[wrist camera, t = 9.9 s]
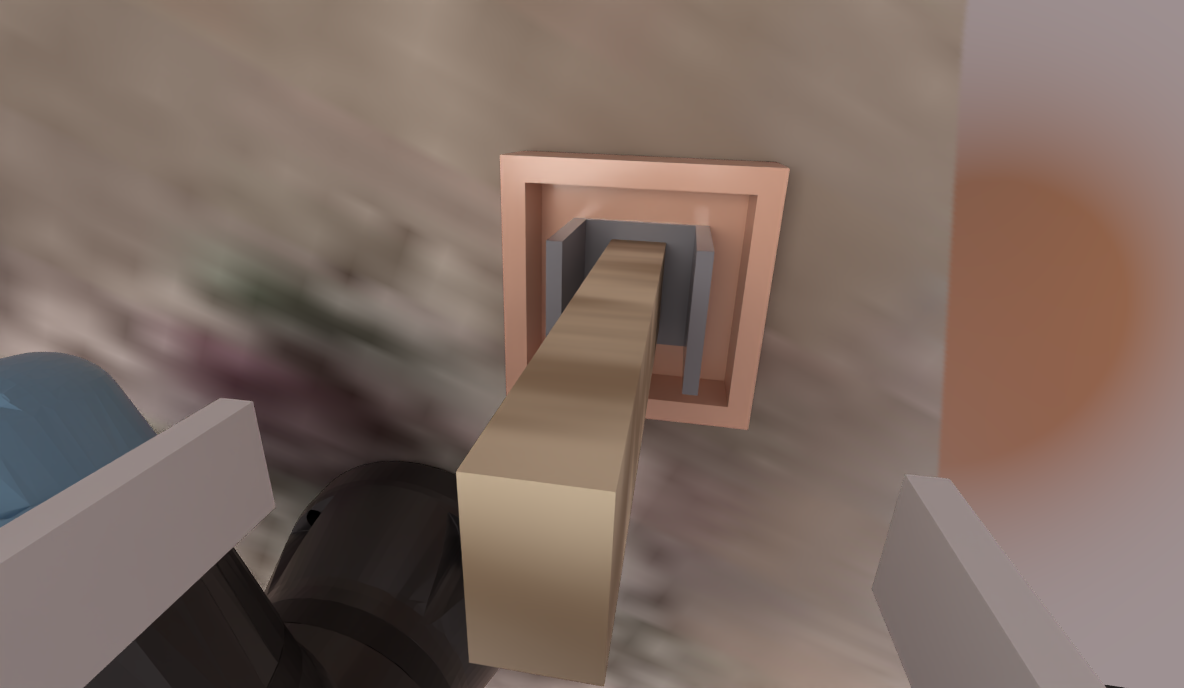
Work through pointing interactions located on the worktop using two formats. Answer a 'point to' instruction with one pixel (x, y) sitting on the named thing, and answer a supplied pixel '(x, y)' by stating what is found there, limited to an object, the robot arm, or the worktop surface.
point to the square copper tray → (691, 268)
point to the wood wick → (562, 479)
